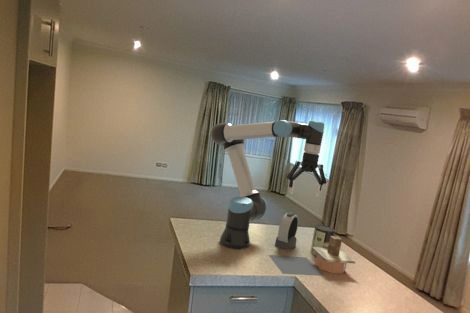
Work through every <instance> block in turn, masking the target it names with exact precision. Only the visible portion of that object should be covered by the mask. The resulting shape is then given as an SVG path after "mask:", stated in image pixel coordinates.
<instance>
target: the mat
mask: <svg viewBox="0 0 470 313" xmlns="http://www.w3.org/2000/svg"><path fill="white" fill-rule="evenodd" d="M268 257H269V258H270V259H271V261H272V262H273V263H274V264H275V265H276V267H277V268H278V270H280V272H281V273H282V274H284V275H300V276H301V275H302V276H303V275H304V276H321V277H322V276H323V277H326V276H325V274H324V273H323V272H321V269H319V268H317V266H316V265H315V264H313V262H312V261H311V260H310V259H309V258H308V257H304V256H291V255H290V256H289V255H274V254H268Z"/></svg>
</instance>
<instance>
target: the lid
mask: <svg viewBox="0 0 470 313" xmlns="http://www.w3.org/2000/svg"><path fill="white" fill-rule="evenodd" d="M342 241H343V239H342V238H341V237H340V236H337V235H336V236H335V235H334V236H330V240H329V245H328V248H322V247H312V248H311V247H310V250H311V249H312V250H313V251H314V252H316V253H317V254H318V255H319V256H320V257H321V258H322V259H323V260H324V261H325V262H340V263H347V264H356V261H355V259H353V258H352V257H351V256H349V255H348V254H347V253H345V252H344V251H343V250H341V247H342Z"/></svg>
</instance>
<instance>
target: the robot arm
mask: <svg viewBox="0 0 470 313" xmlns="http://www.w3.org/2000/svg"><path fill="white" fill-rule="evenodd" d="M324 133H325V123H324V122H323V121H316V120H309V121H308V123H302V122H296V121H289V120H286V119H280V120H277V121H266V122H254V123H241V124H234V123H225V122H224V123H223V122H222V123H221V122H219V123H217V124H215V125H214V126H213V127H212V128H211V129H210V138H211V140H212V141H213V142H214V143H215V144H216V145H218V146H219V145H220V146H223V151H224V152H225V153H227V154H228V157H229V159H230V160H229V161H230V164H231V167H232V170H233V174H234V177H235V181H236V184H237V186H238V187H237V188H238V190H239V194H240V195H239V196H234V197H232V198H231V199H230V201H229V202H228V203H229V204H228V209H227V216H226V223H225V227H224V229H223V232H222V233H221V235H220V238H219V243H220V244H221V245H222V246H224V247H227V248H229V249H233V250H234V249H236V250H242V249H243V250H245V249H248V248H249V247H250V244H251V241H250V233H249V228H250V223H251V222H253V221H257V220H260V219H261V218H264V217H265V216H266V214H267V211H268V202H267V201H266V199H265V198H263V197H262V196H261V193H260V191H258V190H257V189H256V186H255V183H254V180H253V176H252V174H251V171H250V166H249V163H248V160H247V158H246V155H245V151H244V147H245V140H253V139H266V138H267V139H270V138H294V139H296V138H297V139H301V140H305V143H304V147H303V148H304V149H303V151H304V152H303V154H302V160H301V161H299V160H296V161H295V163H294V166H293V167H292V168H291V170H290V171H289V173H288V174H287V175H286V179H287V180H289V183H288V187H289V192H288V194H290V195H294V189H295V184H296V181H295V180H296V179H298V177H299V176H300V175H301V174H302V173H305V172H307V173H312V174H313V176H314V178H315V179H316V181H317V183H316V186H315V190H314V191H315V192H314V197H316V198H319V194H320V192H321V191H322V188H323V187H322V186H323V185H324V184H325V185H326V184H327V179H326V177H325V176H326V174H325V172H324V165H323V164H322V163H319V164H318V162H319V158H320V155H319V154H320V153H321V147H322V141H323V138H324V137H323V136H324ZM300 166H301V167H300ZM317 168H318V171H317ZM318 172H319V173H318Z"/></svg>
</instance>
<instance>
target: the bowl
mask: <svg viewBox="0 0 470 313" xmlns="http://www.w3.org/2000/svg"><path fill="white" fill-rule="evenodd" d="M315 260H316V261H315V266H316V267H318V269H319V270H322V271H325V272H329V273H331V274H343V273H344V272H346V269H347V264H348V263H340V262H325V261H324V260H323V259H322V258H321V257H320V256H319V255H318V254H317V256H316V259H315Z"/></svg>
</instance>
